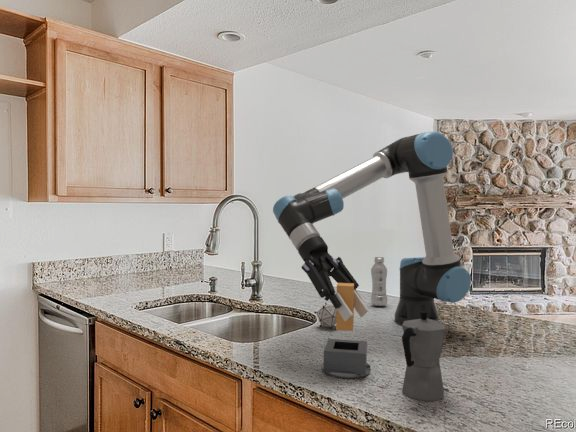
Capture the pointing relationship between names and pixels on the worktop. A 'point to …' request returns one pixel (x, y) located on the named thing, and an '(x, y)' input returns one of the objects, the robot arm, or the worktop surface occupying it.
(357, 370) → the socket collar
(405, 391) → the coffeepot
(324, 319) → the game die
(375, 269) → the plastic bottle
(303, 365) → the worktop surface
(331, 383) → the worktop surface
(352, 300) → the orange rectangular block
